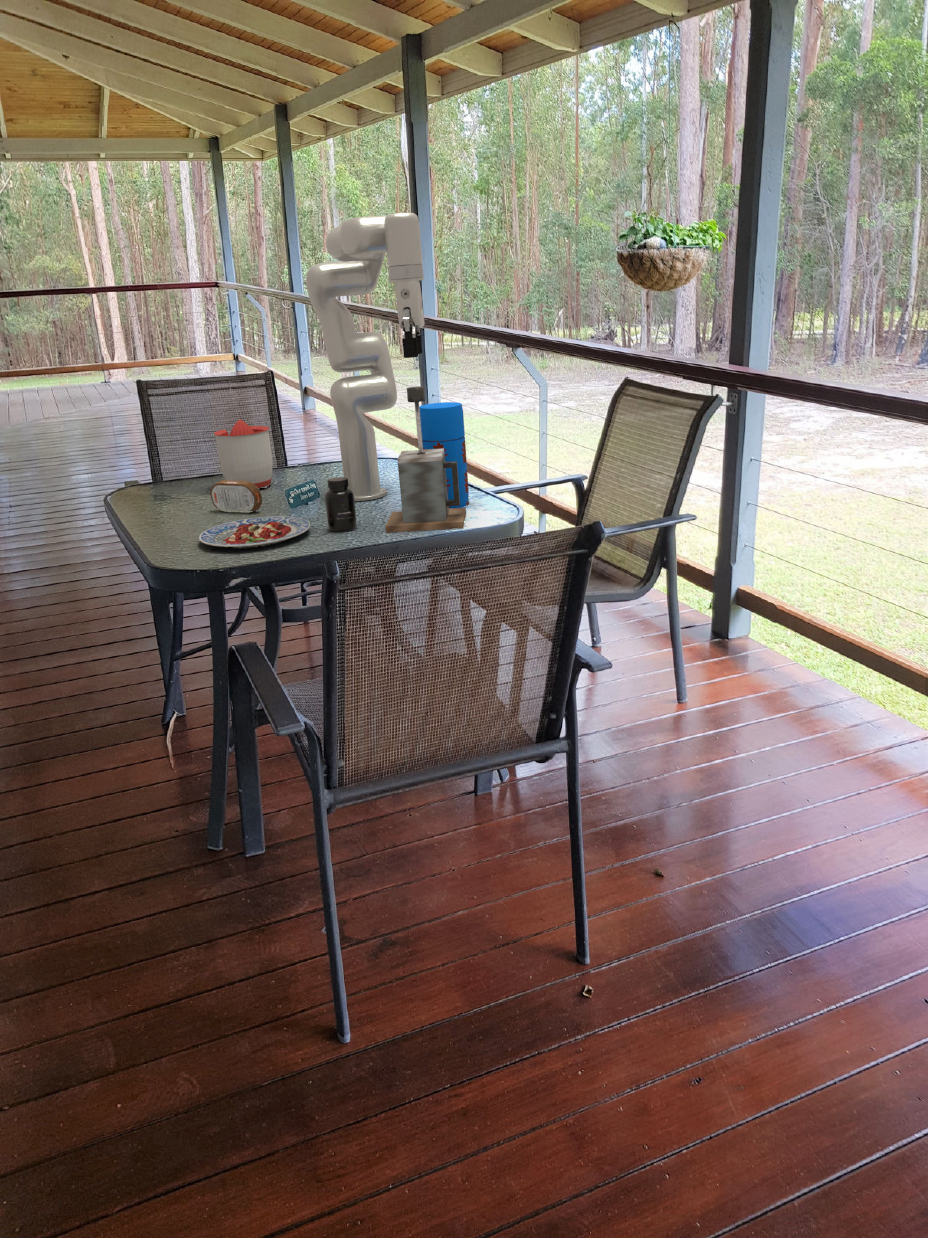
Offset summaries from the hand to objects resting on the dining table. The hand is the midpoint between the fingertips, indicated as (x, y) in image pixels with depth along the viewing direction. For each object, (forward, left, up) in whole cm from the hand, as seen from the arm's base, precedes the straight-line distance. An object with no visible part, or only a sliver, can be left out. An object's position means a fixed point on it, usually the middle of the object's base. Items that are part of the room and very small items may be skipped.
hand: (413, 355), depth 215 cm
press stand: (0, 0, -39) cm, 39 cm away
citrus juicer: (-57, +54, -39) cm, 88 cm away
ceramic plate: (-40, -5, -39) cm, 56 cm away
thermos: (+4, +17, -39) cm, 43 cm away
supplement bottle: (-20, -1, -39) cm, 44 cm away
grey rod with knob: (0, 0, -28) cm, 28 cm away
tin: (-52, +23, -39) cm, 69 cm away
